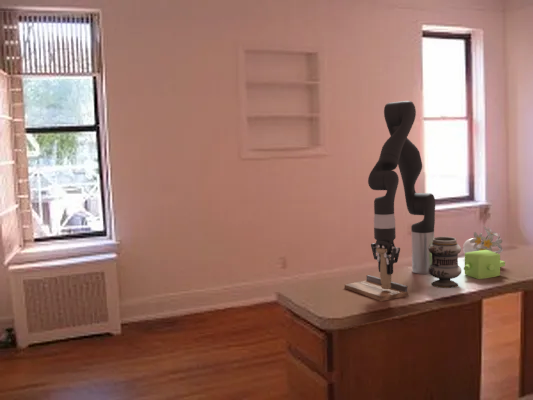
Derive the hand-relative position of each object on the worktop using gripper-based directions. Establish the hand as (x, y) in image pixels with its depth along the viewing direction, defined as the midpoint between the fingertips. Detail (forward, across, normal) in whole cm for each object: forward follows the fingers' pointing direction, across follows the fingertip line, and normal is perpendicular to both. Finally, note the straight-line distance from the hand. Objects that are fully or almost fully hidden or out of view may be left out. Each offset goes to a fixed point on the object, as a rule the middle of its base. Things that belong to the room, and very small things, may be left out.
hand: (385, 272), depth 203 cm
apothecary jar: (+8, -2, -26) cm, 28 cm away
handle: (+6, 0, 0) cm, 6 cm away
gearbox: (+9, -1, -48) cm, 48 cm away
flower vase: (+9, +17, -67) cm, 70 cm away
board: (+8, +6, +1) cm, 10 cm away
